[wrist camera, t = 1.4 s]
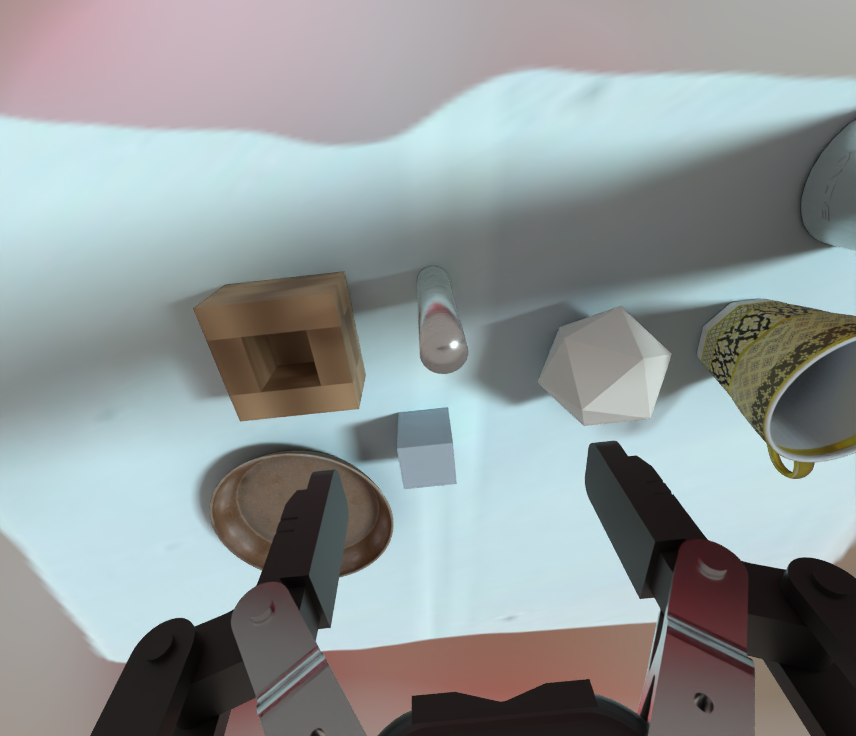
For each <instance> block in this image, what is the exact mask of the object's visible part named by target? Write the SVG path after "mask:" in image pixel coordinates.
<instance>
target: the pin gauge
mask: <svg viewBox="0 0 856 736" xmlns="http://www.w3.org/2000/svg"><path fill="white" fill-rule="evenodd" d="M417 291H418V317H419V342H420V358H421V361H422V363H423V364H424V366H425V367H426V368H428V369H429V370H430V371H432V372H435V373H439V374H447V373H451V372H454V371H456V370H458V369H459V368H460V367H461V366H462V365H463V364H464V363H465V361H466V359H467V356H468V347H467V343H466V339H465V336H464V332H463V329H462V325H461V322H460V318H459V314H458V311H457V307H456V304H455V300H454V297H453V293H452V289H451V286H450V282H449V279H448V275H447V273H446V272H445V271H444V270H443V269H442V268H440V267H438V266H429V267H426V268H424V269H423V270H422V271H421V272H420V273H419V275H418V278H417Z"/></svg>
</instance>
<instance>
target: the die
mask: <svg viewBox="0 0 856 736" xmlns="http://www.w3.org/2000/svg"><path fill="white" fill-rule="evenodd" d="M671 356H672V354H671V353H670V352H669V351H668V350H667V349H666V348H665V347H664V346H663V345H662V344H661V343H660V342H659V341H657V340H656V339H655V338H654V337H653V336H652V335H651V334H650V333H649V332H648V331H647V330H646V329H645V328H644V327H642V326H641V325H640V324H639V323H638V322H637V321H636V320H635V319H634V318H633V317H632V316H631V315H630V314H628V313H627V312H626V311H625V310H624V309H623V308H622V307H621V306H620V307H617V308H614V309H611V310H608V311H605V312H602V313H599V314H596V315H593V316H590V317H587V318H584V319H581V320H578V321H575V322H572V323H569V324H566V325H563V326H560V327H559V329H558V332H557V334H556V337H555V339H554V342H553V344H552V347H551V349H550V352H549V354H548V357H547V359H546V362H545V364H544V367H543V369H542V372H541V374H540V377H539V379H538V382H537V383H538V384H539V385H540V386H541V387H543V388H544V389H545V390H546V391H547V392H548V393H549V394H550V395H551V396H552V397H553V398H554V399H555V400H557V401H558V402H559V403H560V404H561V405H562V406H563V407H564V408H565V409H566V410H567V411H568V412H569V413H570V414H572V415H573V416H574V417H575V418H576V419H577V420H578V421H579V422H580V423H581V424H582V425H583V426H588V425H597V424H606V423H615V422H624V421H632V420H641V419H650V418H651V415H652V412H653V409H654V406H655V403H656V400H657V397H658V394H659V392H660V389H661V386H662V383H663V380H664V377H665V374H666V371H667V368H668V365H669V362H670V359H671Z"/></svg>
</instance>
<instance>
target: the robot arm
mask: <svg viewBox="0 0 856 736" xmlns="http://www.w3.org/2000/svg"><path fill="white" fill-rule="evenodd" d="M801 214H802V218H803V223H804V225H805V227H806V229H807V230H808V232H809V234H811V235H812V236H813V237H814V238H815V239H816V240H818V241H821V242H823V243H826V244H829V245H833V246H838V247H842V248H846V249H850V250H855V251H856V119H855V120H854V121H853V122H851V123H850V124H848V125H847V126H846V127H845V128H844V129H843V130H842V131H841V132H840V133H839V134H838V135H837V136H836V137H835V138H834V139H833V140H832V141H831V142H830V144H829V145H828V146H827V147H826V148H825V150H824V151H823V152H822V153H821V155H820V157H819V158H818V160H817V162H816V163H815V165H814V166H813V168H812V170H811V172H810V175H809V177H808V179H807V182H806V184H805V187H804V192H803V196H802V204H801ZM585 486H586V491H587V495H588V497H589V499H590V501H591V503H592V505H593V507H594V509H595V511H596V513H597V515H598V517H599V519H600V521H601V523H602V525H603V527H604V529H605V531H606V533H607V535H608V537H609V539H610V541H611V543H612V545H613V547H614V549H615V551H616V553H617V555H618V557H619V559H620V561H621V563H622V565H623V567H624V569H625V571H626V573H627V575H628V577H629V579H630V580H631V582H632V584H633V586H634V588H635V590H636V592H637V594H638V596H639V598H640V599H644V598H655V599H656V601H657V603H658V605H659V607H660V611H659V614H658V619H657V624H656V629H655V634H654V639H653V644H652V649H651V655H650V659H649V664H648V670H647V675H646V680H645V684H644V688H643V692H642V695H641V699H640V703H639V708H638V712H637V713H635V712H634V711H632V710H631V709H629V708H627V707H626V706H624V705H622V704H620V703H618V702H616V701H614V700H612V699H609V698H606V697H604V696H601V695H596V694H594V692H593V689H592V686H591V683H590V680H589V679H586V680H576V681H565V682H555V683H545V684H543V685H541V686H539V687H536V688H534V689H532V690H529V691H527V692H525V693H523V694H521V695H518V696H516V697H514V698H512V699H509V700H507V701H503V702H499V701H494V700H489V699H485V698H480V697H476V696H471V695H467V694H462V693H457V692H449V693H438V694H428V695H417V696H412V711H409V712H407V713H405V714H403V715H402V716H400V717H398V718H397V719H395V720H394V721H393V722H391V723H390V724H389V725H388V726H387V727H385V728H384V729H383V730H382V732H381V733H380V734H379V735H378V736H755V667H754V662H753V660H752V659H751V658H748V656H752V657H757V658H761V659H763V660H764V662H765V663H766V665H767V667H768V668H769V670H770V671H771V673H772V675H773V676H774V678H775V679H776V681H777V683H778V684H779V686H780V687H781V689H782V690H783V692H784V694H785V695H786V697H787V699H788V700H789V702H790V703H791V705H792V706H793V708H794V710H795V711H796V713H797V714H798V716H799V718H800V719H801V721H802V722H803V724H804V726H805V727H806V729H807V730H808V732H809V734H810V735H811V736H856V578H854V577H853V576H852V575H850V574H849V573H848V572H846V571H844V570H843V569H841V568H839V567H837V566H835V565H833V564H831V563H829V562H826V561H823V560H819V559H815V558H805V557H803V558H797V559H795V560H793V561H792V562H791V563H790V564H789V566H788V567H787V569H786V570H784V569H779V568H773V567H768V566H762V565H757V564H751V563H747V562H743V561H741V560H740V559H739V558H738V557H737V556H736V555H735V554H734V553H733V552H731V551H730V550H728V549H727V548H725V547H724V546H722V545H720V544H718V543H715V542H712V541H709V540H708V539H707V538H706V537H705V536H704V534H703V533H702V532H701V531H700V529H699V528H698V527H697V525H696V524H695V523H694V521H693V520H692V519H691V517H690V516H689V515H688V513H687V512H686V511H685V509H684V508H683V507H682V505H681V504H680V503H679V501H678V500H677V499H676V497H675V496H674V495H672V494H671V491H670V489H669V488H668V487H667V485H666V484H665V483H663V480H662V479H661V478H660V476H659V475H658V474H657V472H656V471H655V470H654V468H653V467H652V466H651V465H649V464H648V463H646V462H645V461H644V460H642V459H641V458H639V457H638V456H627V454H626V453H625V451H624V450H623V448H622V447H621V446H620V444H619V443H618V442H617V441H607V442H597V443H591V444H590V445H589V449H588V457H587V465H586V473H585ZM348 519H349V511H348V503H347V499H346V496H345V492H344V489H343V486H342V482H341V479H340V475H339V472H338V470H337V469H334V470H325V471H315V472H313V473H312V474H311V476H310V480H309V483H308V486H307V489H304V490H297V491H296V492H295V493H294V494H293V495H292V497H291V498H290V499H289V500H288V502H287V503H286V504H285V507H284V510H283V513H282V516H281V518H280V520H281V521H280V522H279V524H278V527H277V530H276V534H275V536H274V538H273V541H272V544H271V547H270V550H269V553H268V555H267V558H266V561H265V564H264V567H263V570H262V572H261V575H260V578H259V581H258V583H257V585H256V587H254V588H252V589H251V590H250V591H248V592H247V593H246V594H245V595H244V596H243V597H242V598H241V599H240V600H239V602H238V603H237V605H236V607H235V609H234V610H232V611H230V612H228V613H226V614H224V615H222V616H219V617H217V618H214V619H212V620H210V621H207V622H205V623H202V624H200V625H198V626H195V627H194V625H193V624H192V623H191V622H190V621H189V620H187V619H185V618H175V619H171V620H168V621H165V622H163V623H161V624H159V625H158V626H156V627H155V628H153V629H152V630H151V631H150V632H148V633H147V634H146V635H145V636H144V637H143V638H142V639H141V641H140V642H139V643H138V644H137V646H136V647H135V648H134V650H133V652H132V654H131V655H130V657H129V659H128V661H127V663H126V666H125V667H124V670H123V671H122V673H121V676H120V677H119V679H118V681H117V684H116V685H115V687H114V690H113V691H112V693H111V695H110V698H109V699H108V701H107V704H106V705H105V707H104V709H103V712H102V713H101V715H100V717H99V719H98V721H97V723H96V725H95V727H94V729H93V731H92V733H91V735H90V736H224V733H225V730H226V726H227V723H228V719H229V715H230V712H231V709H233V708H235V707H237V706H239V705H241V704H243V703H245V702H247V701H249V700H251V699H254V698H257V701H258V705H257V712H258V716H259V719H260V722H261V725H262V728H263V731H264V734H265V736H367V735H366V733H365V731H364V729H363V727H362V725H361V724H360V722H359V720H358V718H357V716H356V714H355V713H354V711H353V709H352V707H351V705H350V703H349V701H348V699H347V697H346V696H345V694H344V692H343V690H342V688H341V686H340V684H339V683H338V681H337V679H336V677H335V675H334V673H333V671H332V669H331V667H330V666H329V664H328V662H327V660H326V658H325V656H324V655H323V653H322V652H321V651H320V649H319V647H318V645H317V643H316V637H317V632H318V629H323V628H331V622H332V616H333V610H334V604H335V598H336V592H337V586H338V580H339V574H340V568H341V562H342V556H343V550H344V544H345V538H346V533H347V527H348ZM747 655H748V656H747Z"/></svg>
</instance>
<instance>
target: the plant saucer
mask: <svg viewBox="0 0 856 736" xmlns="http://www.w3.org/2000/svg"><path fill="white" fill-rule="evenodd" d="M334 469H337V470H338V472H339V475H340V479H341V482H342V486H343V489H344V492H345V496H346V499H347V503H348V511H349V519H348V527H347V533H346V538H345V544H344V550H343V556H342V562H341V568H340V574H339V577H343V576H347V575H350V574H353V573H355V572H358V571H360V570H362V569H364V568H366V567H367V566H369V565H370V564H371V563H373V562H374V561H375V560H377V559H378V558H379V557H380V556H381V555H382V554H383V552H384V551H385V550H386V548H387V546H388V545H389V543H390V540H391V537H392V533H393V515H392V511H391V508H390V506H389V503H388V501H387V500H386V498H385V496H384V495H383V493H382V492H381V490H380V489H379V488H378V486H377V485H376V484H375V483H374V482H373V481H372V480H371V479H370V478H369V477H368V476H367V475H365V474H364V473H363V472H362V471H360V470H359V469H358V468H356V467H355V466H353V465H351V464H350V463H348V462H346V461H344V460H342V459H339V458H337V457H334V456H331V455H328V454H324V453H320V452H313V451H283V452H276V453H272V454H267V455H264V456H260V457H257V458H255V459H252V460H250V461H247V462H245V463H244V464H242V465H240V466H238V467H236V468H235V469H233V470H232V471H231V472H229V473H228V474H227V475H226V476H225V477H224V478H223V479H222V480H221V481H220V482H219V483H218V485H217V486H216V488H215V490H214V492H213V495H212V498H211V502H210V518H211V523H212V525H213V528H214V530H215V532H216V534H217V535H218V537H219V539H220V540H221V541H222V543H223V544H224V545H225V546H226V547H227V548H228V549H229V550H230V551H231V552H232V553H233V554H234V555H236V556H237V557H238V558H240V559H241V560H243V561H244V562H246V563H248V564H249V565H251V566H253V567H255V568H257V569H260V570H263V567H264V564H265V561H266V558H267V555H268V553H269V550H270V547H271V544H272V541H273V538H274V536H275V534H276V530H277V527H278V524H279V522H280V521H281V520H280V518H281V516H282V513H283V510H284V507H285V504H286V503H287V502H288V500H289V499H290V498H291V497H292V495H293V494H294V493H295V492H296V491H297V490H304V489H307V486H308V483H309V480H310V476H311V474H312V473H313V472H315V471H325V470H334Z"/></svg>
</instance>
